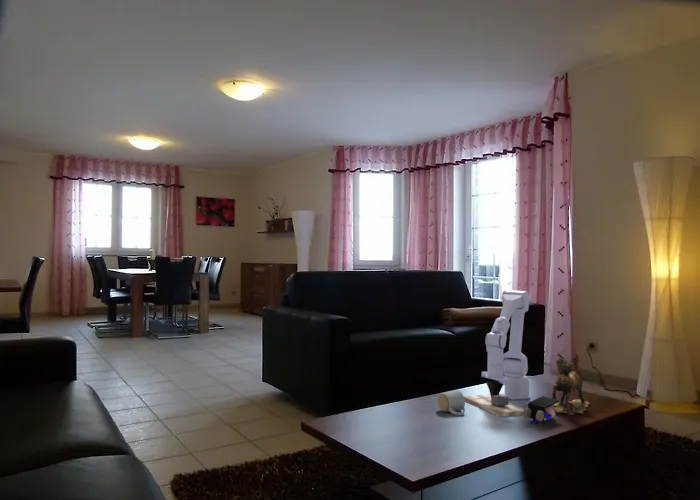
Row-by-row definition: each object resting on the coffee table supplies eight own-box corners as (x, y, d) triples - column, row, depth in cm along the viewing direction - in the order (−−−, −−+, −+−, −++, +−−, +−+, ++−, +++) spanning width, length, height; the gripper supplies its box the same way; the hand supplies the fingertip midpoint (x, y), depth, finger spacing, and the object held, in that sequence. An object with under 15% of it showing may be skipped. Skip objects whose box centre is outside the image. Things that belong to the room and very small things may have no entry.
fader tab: (502, 402, 197) (502, 393, 197) (508, 404, 193) (508, 396, 193) (491, 403, 195) (491, 394, 195) (497, 406, 191) (497, 397, 191)
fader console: (489, 398, 210) (489, 394, 210) (527, 414, 189) (527, 409, 189) (463, 400, 206) (463, 396, 206) (499, 416, 184) (500, 412, 184)
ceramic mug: (435, 409, 192) (436, 389, 192) (452, 407, 196) (453, 387, 196) (453, 417, 183) (453, 396, 183) (470, 415, 186) (471, 394, 186)
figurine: (542, 410, 195) (543, 356, 195) (567, 398, 212) (568, 349, 213) (576, 418, 186) (577, 361, 186) (600, 405, 204) (601, 354, 204)
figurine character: (541, 432, 173) (560, 418, 184) (540, 410, 172) (559, 397, 183) (522, 427, 178) (541, 414, 188) (521, 406, 177) (541, 393, 188)
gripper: (475, 360, 203) (474, 395, 203) (498, 368, 189) (497, 405, 189) (490, 360, 205) (489, 394, 205) (514, 367, 192) (513, 404, 191)
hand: (494, 399), depth 197 cm, fingers closed
